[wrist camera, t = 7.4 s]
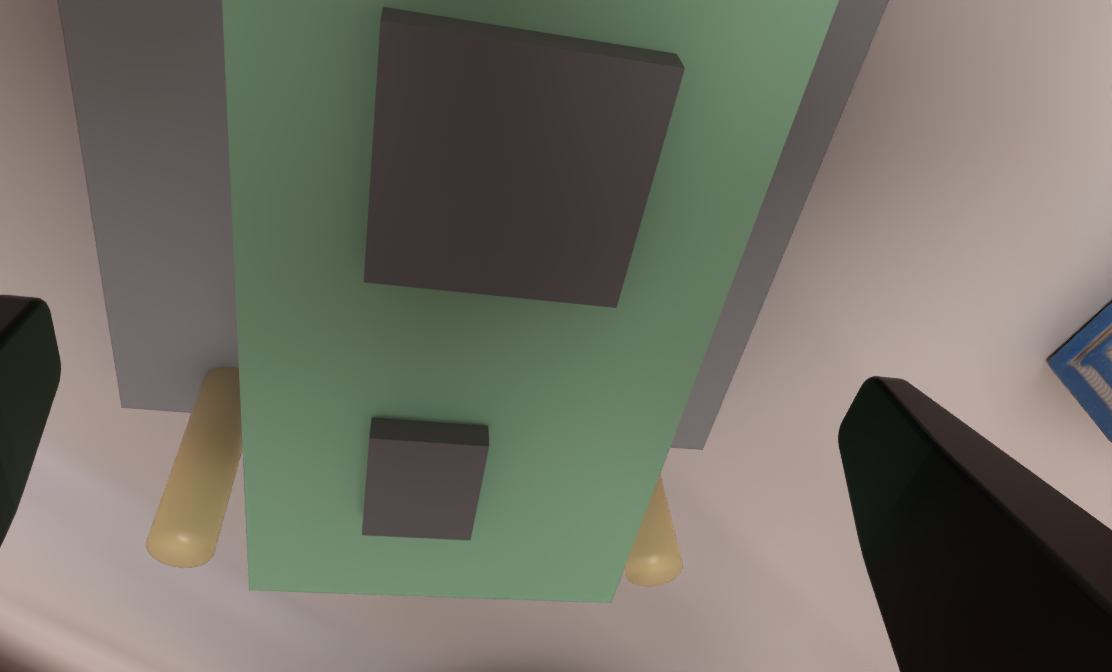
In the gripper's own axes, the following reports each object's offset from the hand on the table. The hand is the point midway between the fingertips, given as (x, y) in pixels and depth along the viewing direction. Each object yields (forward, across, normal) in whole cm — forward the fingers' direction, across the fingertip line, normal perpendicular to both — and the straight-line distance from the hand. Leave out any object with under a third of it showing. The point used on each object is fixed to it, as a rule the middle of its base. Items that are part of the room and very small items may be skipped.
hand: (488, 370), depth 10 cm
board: (+5, 0, 0) cm, 5 cm away
